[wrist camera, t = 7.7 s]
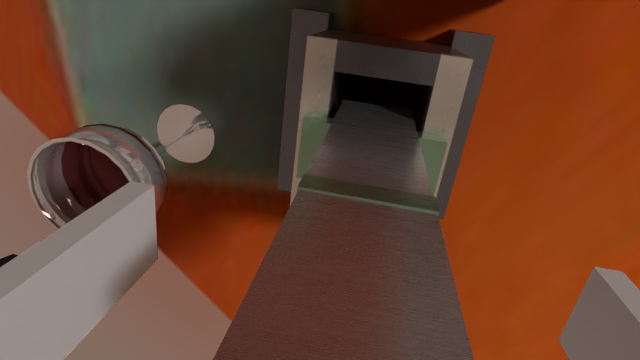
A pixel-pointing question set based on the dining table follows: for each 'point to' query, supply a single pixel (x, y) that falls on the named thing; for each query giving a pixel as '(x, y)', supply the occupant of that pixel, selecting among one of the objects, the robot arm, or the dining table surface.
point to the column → (356, 251)
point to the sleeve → (386, 63)
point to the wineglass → (112, 162)
